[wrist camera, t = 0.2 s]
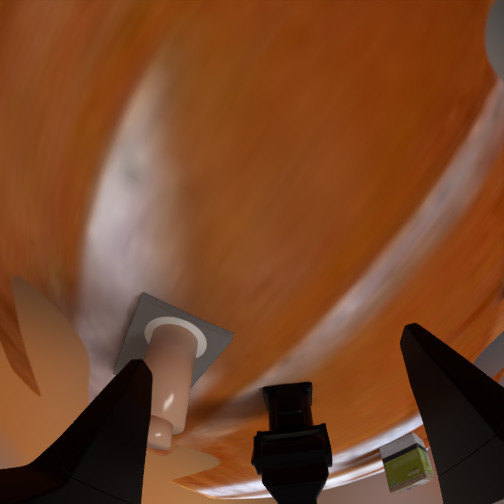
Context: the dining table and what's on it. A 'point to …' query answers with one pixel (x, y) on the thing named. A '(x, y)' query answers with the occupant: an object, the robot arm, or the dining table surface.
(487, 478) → the robot arm
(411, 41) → the dining table surface
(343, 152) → the dining table surface
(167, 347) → the light brown tall cylinder
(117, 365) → the slate board
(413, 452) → the tea box
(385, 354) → the dining table surface
